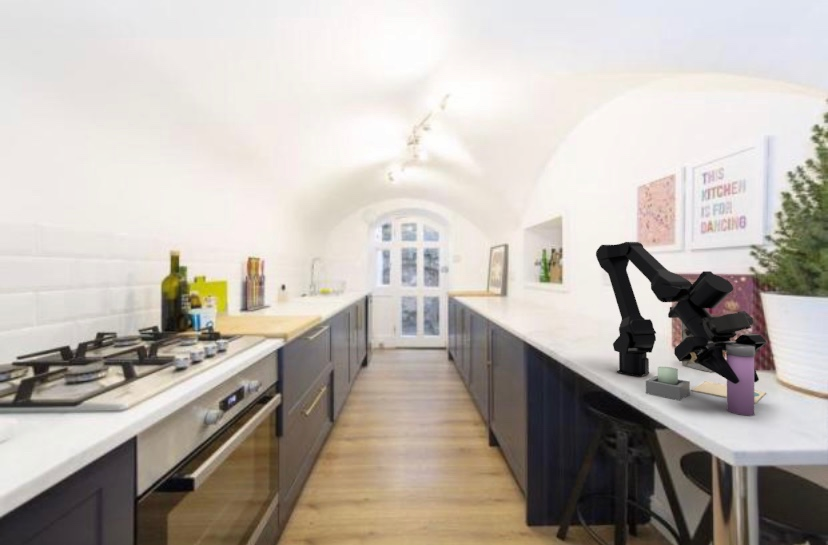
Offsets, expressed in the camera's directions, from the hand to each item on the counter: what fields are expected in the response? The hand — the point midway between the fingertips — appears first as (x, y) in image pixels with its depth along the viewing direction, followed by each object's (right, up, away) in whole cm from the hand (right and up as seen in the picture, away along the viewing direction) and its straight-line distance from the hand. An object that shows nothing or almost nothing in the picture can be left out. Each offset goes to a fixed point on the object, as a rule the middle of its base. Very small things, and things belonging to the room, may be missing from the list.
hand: (747, 382), depth 80 cm
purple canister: (0, -7, +1) cm, 7 cm away
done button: (-7, -5, +14) cm, 16 cm away
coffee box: (+19, -6, +37) cm, 42 cm away
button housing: (-7, -7, +14) cm, 17 cm away
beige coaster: (+8, -6, +14) cm, 17 cm away
